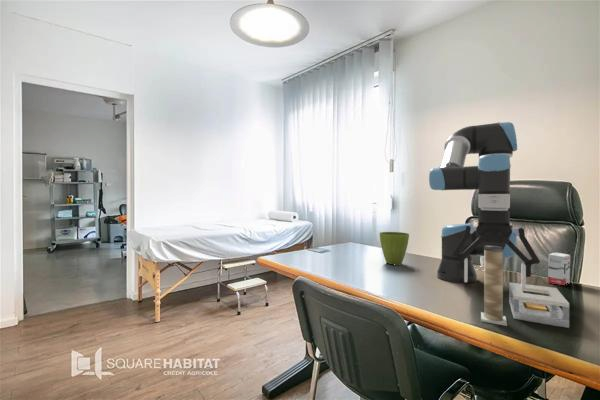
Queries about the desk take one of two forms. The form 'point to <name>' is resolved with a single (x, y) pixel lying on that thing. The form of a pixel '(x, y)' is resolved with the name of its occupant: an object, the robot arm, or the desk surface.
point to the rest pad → (502, 322)
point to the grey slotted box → (551, 302)
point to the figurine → (482, 261)
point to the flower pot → (394, 246)
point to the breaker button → (535, 306)
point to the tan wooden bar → (493, 283)
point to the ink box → (559, 268)
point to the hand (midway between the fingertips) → (493, 284)
